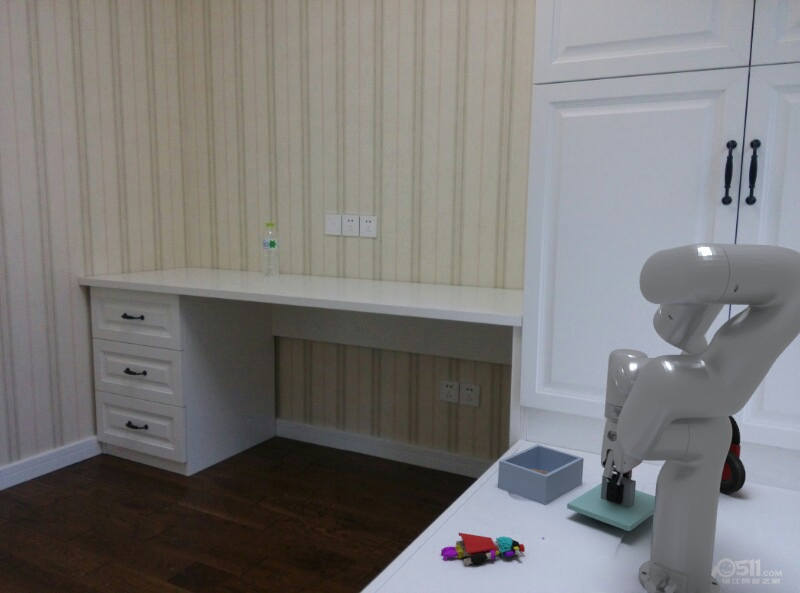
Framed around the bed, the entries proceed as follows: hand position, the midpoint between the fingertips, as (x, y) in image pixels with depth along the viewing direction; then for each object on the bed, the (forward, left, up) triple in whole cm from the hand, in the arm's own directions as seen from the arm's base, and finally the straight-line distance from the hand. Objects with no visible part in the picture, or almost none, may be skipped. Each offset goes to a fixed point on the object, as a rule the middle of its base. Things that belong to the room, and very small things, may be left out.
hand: (617, 498), depth 132 cm
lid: (0, 0, -3) cm, 3 cm away
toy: (-31, +10, -5) cm, 33 cm away
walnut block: (-1, +18, -4) cm, 18 cm away
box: (+2, +19, -5) cm, 20 cm away
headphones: (+27, -8, -5) cm, 29 cm away
